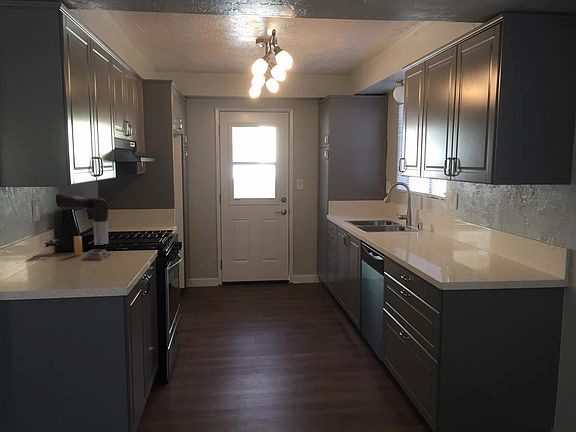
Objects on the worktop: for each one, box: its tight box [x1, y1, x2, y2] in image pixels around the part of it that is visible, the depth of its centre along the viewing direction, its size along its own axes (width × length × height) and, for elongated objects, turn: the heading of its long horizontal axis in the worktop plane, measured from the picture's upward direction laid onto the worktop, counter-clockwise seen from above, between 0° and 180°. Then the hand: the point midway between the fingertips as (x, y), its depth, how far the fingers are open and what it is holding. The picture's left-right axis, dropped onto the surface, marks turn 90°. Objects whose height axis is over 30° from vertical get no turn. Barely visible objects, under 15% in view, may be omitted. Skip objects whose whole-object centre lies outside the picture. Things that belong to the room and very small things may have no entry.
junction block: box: [81, 249, 112, 261], centre depth 295 cm, size 15×12×4 cm
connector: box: [73, 235, 83, 257], centre depth 300 cm, size 4×4×12 cm
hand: (60, 243), depth 300 cm, fingers open, 8 cm apart
